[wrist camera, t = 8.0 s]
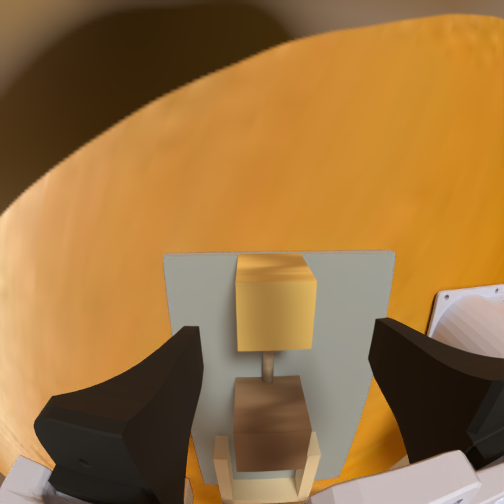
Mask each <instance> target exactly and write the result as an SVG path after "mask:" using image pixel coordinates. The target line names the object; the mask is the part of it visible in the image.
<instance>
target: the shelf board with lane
mask: <svg viewBox="0 0 504 504" xmlns="http://www.w3.org/2000/svg"><path fill="white" fill-rule="evenodd" d="M277 253H301V255H302V257H303V258H304V260H305V262H306V263H307V265H308V267H309V268H310V270H311V272H312V273H313V275H314V277H315V278H316V280H317V291H316V304H315V316H314V327H313V337H312V347H311V349H299V350H276V351H274V375H273V377H274V376H294V375H299V376H300V380H301V384H302V389H303V393H304V397H305V401H306V406H307V410H308V414H309V419H310V423H311V428H312V433H311V438H310V443H309V448H308V453H307V457H306V462H305V466H304V469H297V470H284V471H265V472H237V471H236V460H235V450H234V438H233V425H234V402H235V380H236V377H263V351H238V341H237V314H236V284H235V283H236V272H237V262H238V254H277ZM395 256H396V253H395V252H393V251H392V250H355V251H284V252H213V253H166V254H165V255H164V256H163V264H164V274H165V283H166V291H167V299H168V307H169V315H170V322H171V329H172V335H175V334H176V333H177V332H178V331H179V330H180V329H181V328H182V327H183V326H199V329H200V338H201V347H202V355H203V363H204V372H203V381H202V388H201V392H200V396H199V400H198V404H197V408H196V412H195V416H194V420H193V424H192V428H191V434H192V438H193V442H194V447H195V451H196V454H197V458H198V462H199V466H200V470H201V473H202V477H203V481H204V484H216V485H219V490H220V494H221V499H222V503H223V504H265V503H283V502H295V501H305V500H308V497H309V494H310V490H311V487H312V484H313V481H316V480H323V479H330V478H337V477H339V475H340V473H341V471H342V468H343V466H344V463H345V460H346V458H347V455H348V453H349V450H350V447H351V444H352V442H353V439H354V436H355V433H356V430H357V427H358V424H359V421H360V418H361V415H362V412H363V408H364V405H365V402H366V398H367V395H368V391H369V388H370V384H371V381H372V377H373V372H372V370H371V367H370V364H369V361H368V355H369V350H370V346H371V341H372V335H373V330H374V325H375V319H378V318H386V315H387V309H388V304H389V298H390V292H391V285H392V278H393V271H394V264H395Z"/></svg>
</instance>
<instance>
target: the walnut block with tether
mask: <svg viewBox="0 0 504 504" xmlns="http://www.w3.org/2000/svg"><path fill="white" fill-rule="evenodd" d="M235 284H236V314H237V341H238V351H263V377H236V380H235V402H234V425H233V438H234V450H235V460H236V471H237V472H265V471H284V470H297V469H304V466H305V462H306V457H307V453H308V448H309V443H310V438H311V433H312V428H311V423H310V419H309V414H308V410H307V406H306V401H305V397H304V393H303V389H302V384H301V380H300V376H299V375H294V376H274V377H273V375H274V351H276V350H299V349H311V347H312V337H313V327H314V316H315V304H316V291H317V280H316V278H315V277H314V275H313V273H312V272H311V270H310V268H309V267H308V265H307V263H306V262H305V260H304V258H303V257H302V255H301V253H277V254H238V262H237V272H236V283H235Z"/></svg>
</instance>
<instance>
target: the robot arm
mask: <svg viewBox="0 0 504 504" xmlns="http://www.w3.org/2000/svg"><path fill="white" fill-rule="evenodd" d="M446 295H447V296H446ZM445 296H446V297H445ZM368 361H369V364H370V367H371V370H372V372H373V375H374V378H375V380H376V382H377V383H378V385H379V387H380V389H381V391H382V393H383V395H384V397H385V399H386V400H387V402H388V404H389V406H390V408H391V410H392V412H393V414H394V416H395V418H396V420H397V423H398V426H399V429H400V431H401V434H402V437H403V441H404V444H405V447H406V451H407V454H408V458H409V463H410V464H409V465H406V466H403V467H399V468H396V469H392V470H388V471H385V472H381V473H377V474H373V475H368V476H364V477H359V478H354V479H351V480H348V481H344V482H341V483H337V484H334V485H331V486H329V487H327V488H325V489H323V490H321V491H319V492H317V493H315V494H313V495H312V496H311V497H310V499H309V500H308V501H307V502H306V503H305V504H504V285H503V284H498V285H490V286H482V287H473V288H464V289H455V290H445V291H440V292H438V294H437V295H436V299H435V303H434V308H433V312H432V316H431V320H430V324H429V328H428V332H427V336H426V335H424V334H422V333H420V332H418V331H416V330H414V329H412V328H410V327H408V326H406V325H404V324H402V323H400V322H398V321H396V320H394V319H391V318H378V319H375V325H374V330H373V335H372V341H371V346H370V350H369V355H368ZM203 372H204V363H203V355H202V347H201V338H200V329H199V326H183V327H182V328H181V329H180V330H179V331H178V332H177V333H176V334H175V335H173V336H172V337H171V338H170V339H169V340H168V341H167V342H166V343H164V344H163V345H162V346H161V347H160V348H159V349H157V350H156V351H155V352H154V353H152V354H151V355H150V356H148V357H147V358H146V359H144V360H143V361H142V362H140V363H139V364H137V365H136V366H134V367H132V368H131V369H129V370H127V371H125V372H124V373H122V374H120V375H118V376H116V377H113V378H111V379H109V380H107V381H105V382H102V383H100V384H97V385H94V386H92V387H89V388H85V389H82V390H79V391H75V392H70V393H66V394H61V395H56V396H52V397H51V398H50V400H49V401H48V403H47V404H46V405H45V407H44V408H43V410H42V411H41V413H40V414H39V416H38V417H37V418H36V420H35V422H34V430H35V433H36V436H37V437H38V439H39V441H40V443H41V444H42V446H43V447H44V448H45V450H46V451H47V453H48V454H49V455H50V457H51V458H52V460H53V461H54V462H55V464H56V466H55V468H54V470H53V471H52V470H50V469H49V468H48V467H46V466H44V465H42V464H40V463H38V462H35V461H33V460H31V459H28V458H26V457H24V456H21V455H19V457H18V458H17V460H16V462H15V463H14V465H13V467H12V468H11V470H10V472H9V473H8V475H7V477H6V479H5V480H4V482H3V484H2V486H1V488H0V504H184V491H185V476H186V464H187V454H188V446H189V438H190V432H191V428H192V424H193V420H194V416H195V412H196V408H197V404H198V400H199V396H200V392H201V388H202V381H203Z"/></svg>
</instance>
